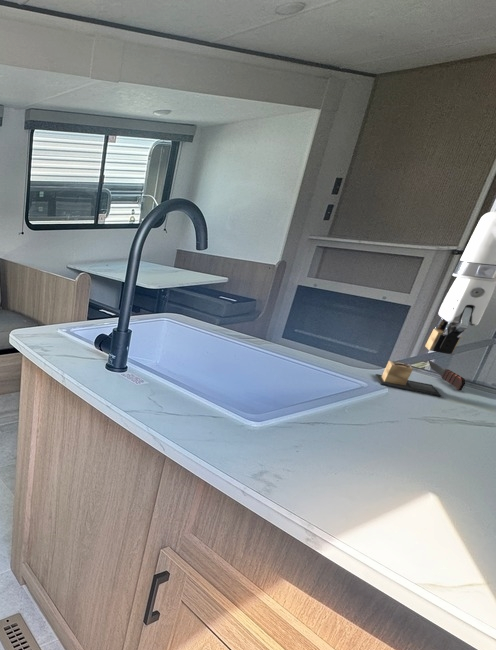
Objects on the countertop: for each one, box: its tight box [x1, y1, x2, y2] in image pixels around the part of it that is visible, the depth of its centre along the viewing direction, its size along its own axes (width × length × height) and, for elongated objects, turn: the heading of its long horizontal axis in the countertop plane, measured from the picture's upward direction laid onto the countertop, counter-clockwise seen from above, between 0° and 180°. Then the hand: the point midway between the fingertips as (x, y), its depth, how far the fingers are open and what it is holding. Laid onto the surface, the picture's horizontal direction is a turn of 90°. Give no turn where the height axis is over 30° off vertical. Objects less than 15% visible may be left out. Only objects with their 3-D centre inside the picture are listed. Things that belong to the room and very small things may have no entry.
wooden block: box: [381, 360, 414, 385], centre depth 107 cm, size 4×4×5 cm
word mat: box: [375, 373, 442, 398], centre depth 107 cm, size 11×8×1 cm
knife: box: [428, 359, 466, 392], centre depth 112 cm, size 17×1×3 cm, turn 159°
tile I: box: [424, 328, 463, 355], centre depth 101 cm, size 4×4×5 cm
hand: (438, 349), depth 102 cm, fingers closed on tile I, 4 cm apart
